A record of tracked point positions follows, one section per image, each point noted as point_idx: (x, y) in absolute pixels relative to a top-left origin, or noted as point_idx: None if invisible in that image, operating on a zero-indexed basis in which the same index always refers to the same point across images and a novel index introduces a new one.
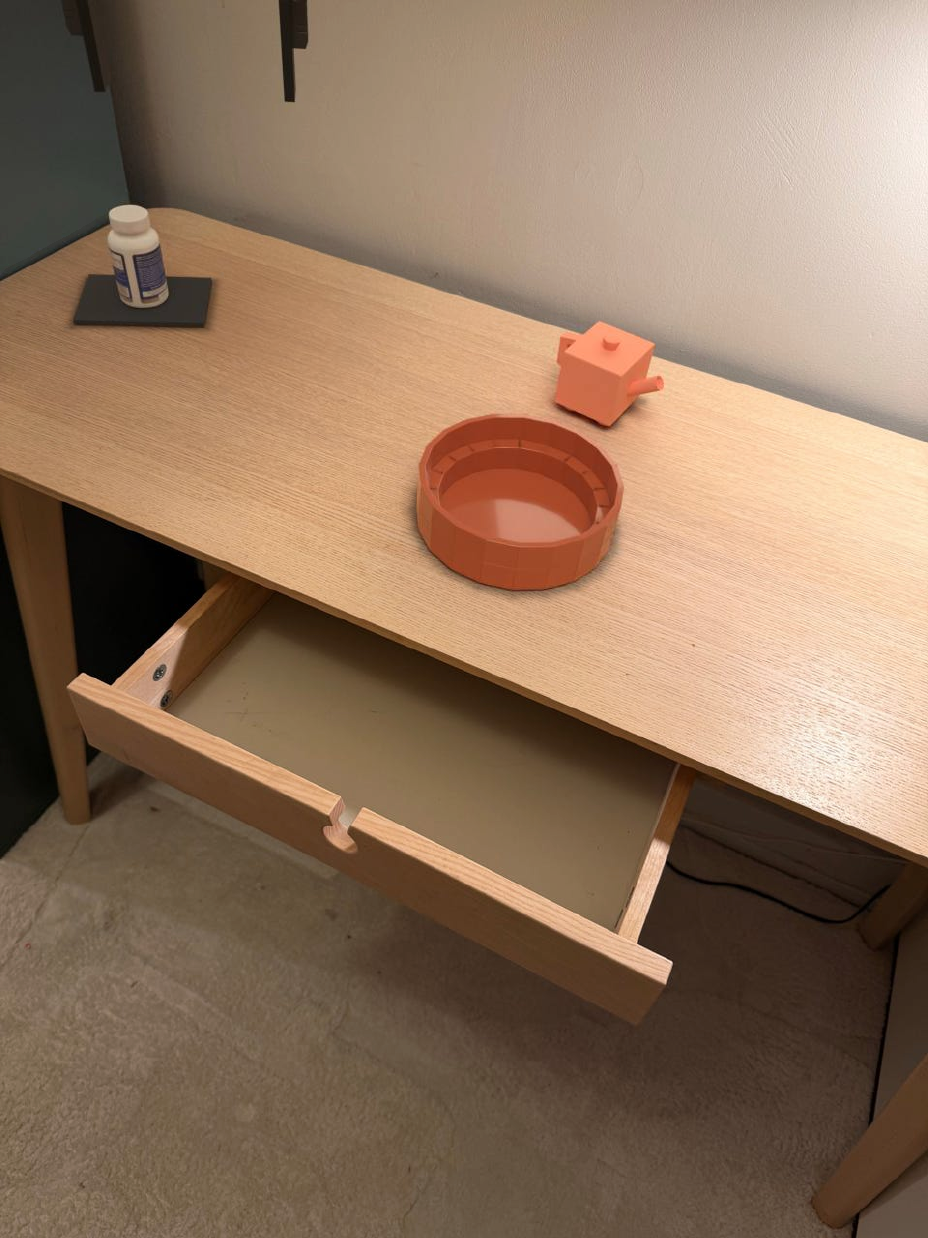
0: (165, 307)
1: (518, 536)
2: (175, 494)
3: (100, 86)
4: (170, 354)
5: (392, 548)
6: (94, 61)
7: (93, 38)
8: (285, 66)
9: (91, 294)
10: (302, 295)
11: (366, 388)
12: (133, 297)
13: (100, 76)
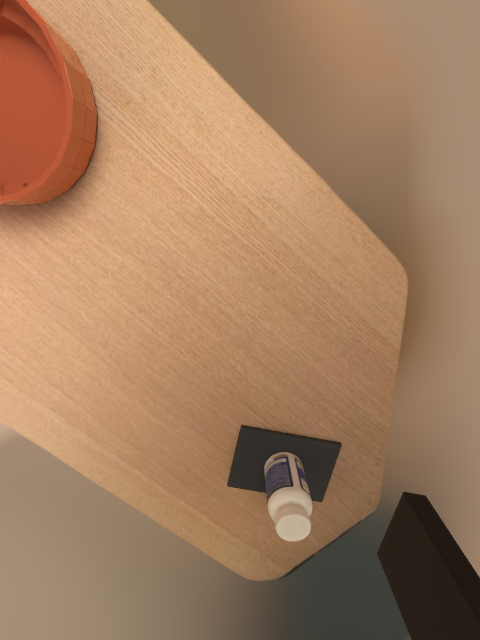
0: (268, 451)
1: (6, 84)
2: (292, 211)
3: (416, 501)
4: (272, 394)
5: (123, 98)
6: (449, 551)
7: (478, 610)
8: None
9: (323, 475)
10: (156, 456)
11: (118, 323)
12: (293, 459)
13: (423, 518)
